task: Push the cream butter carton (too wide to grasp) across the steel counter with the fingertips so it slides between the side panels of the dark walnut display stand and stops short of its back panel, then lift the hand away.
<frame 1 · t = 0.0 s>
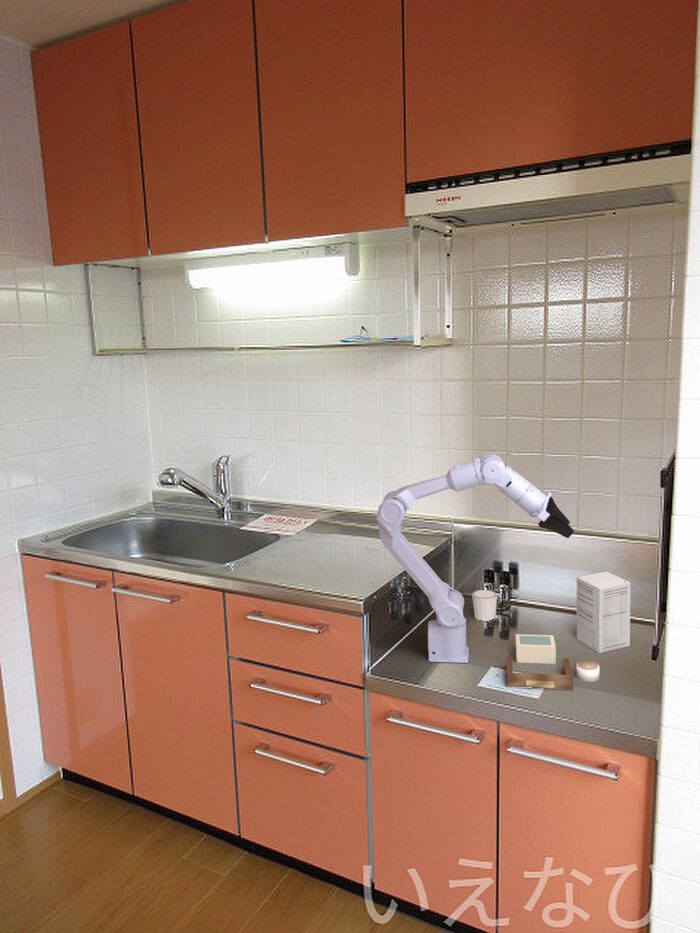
hand: (569, 530, 160), 32 cm above the worktop, tool tilted 50°, fingers open, 7 cm apart
carton: (535, 657, 168), on the worktop
salt pot: (587, 677, 157), on the worktop
display stand: (538, 678, 158), on the worktop
supplement box: (602, 643, 173), on the worktop
beige tapered cup: (485, 618, 193), on the worktop
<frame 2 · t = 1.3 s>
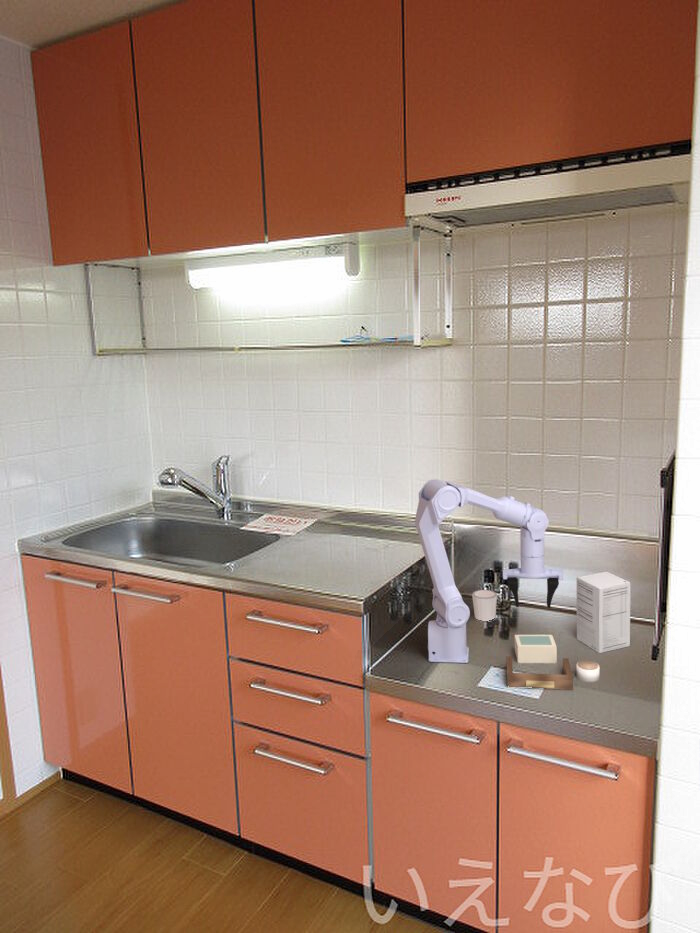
hand: (532, 605, 174), 10 cm above the worktop, tool pointing down, fingers open, 7 cm apart
nothing on the worktop moved.
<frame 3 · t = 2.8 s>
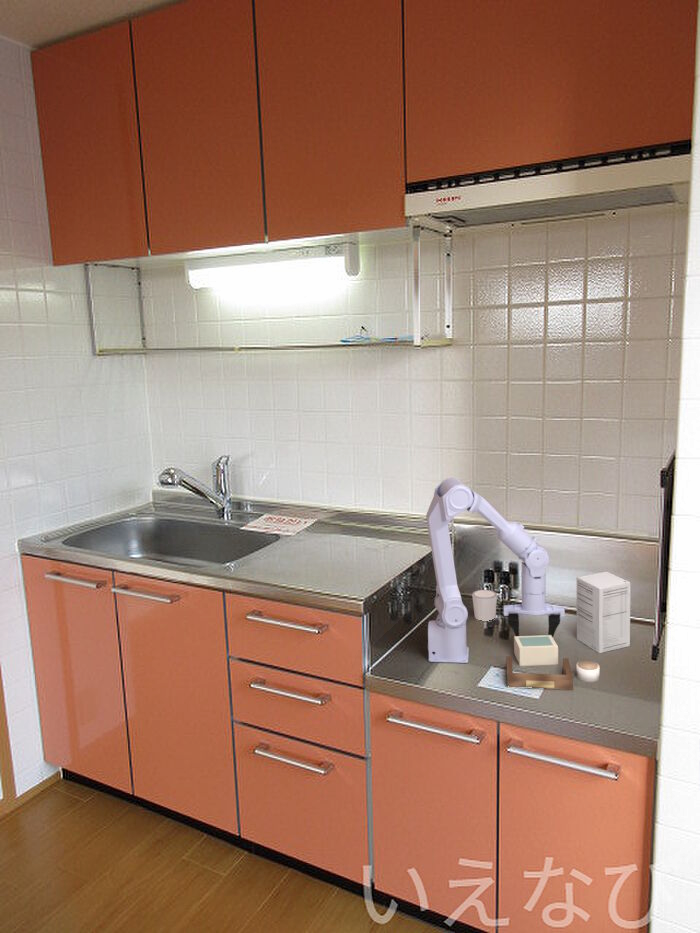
hand: (533, 642, 172), 2 cm above the worktop, tool pointing down, fingers open, 7 cm apart
carton: (535, 658, 167), on the worktop, touching gripper
everything else where it was.
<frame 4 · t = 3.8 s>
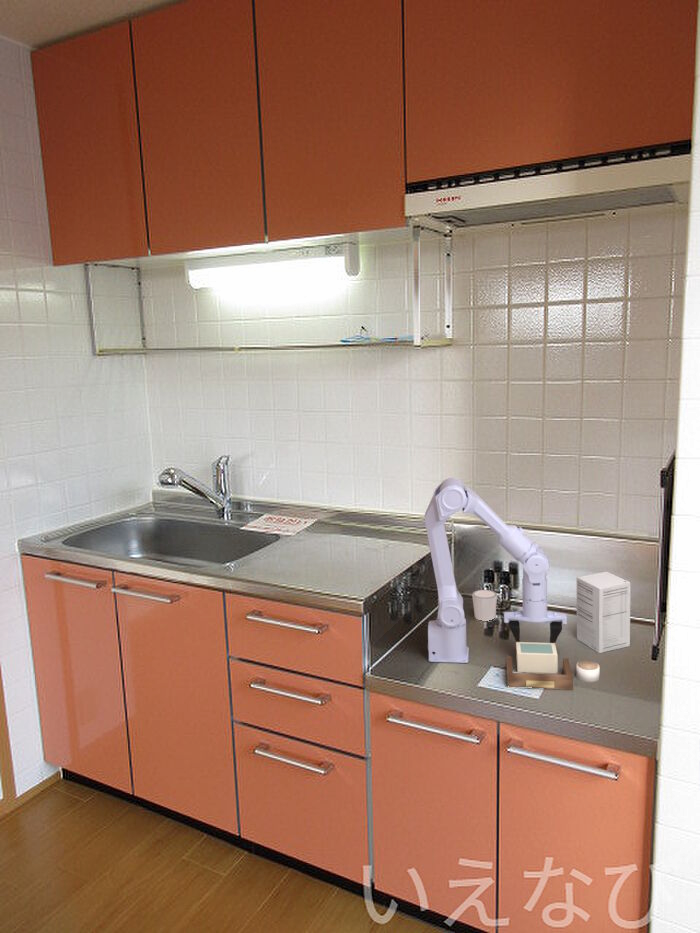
hand: (535, 649, 168), 2 cm above the worktop, tool pointing down, fingers open, 7 cm apart
carton: (536, 666, 164), on the worktop, touching gripper
everything else where it was.
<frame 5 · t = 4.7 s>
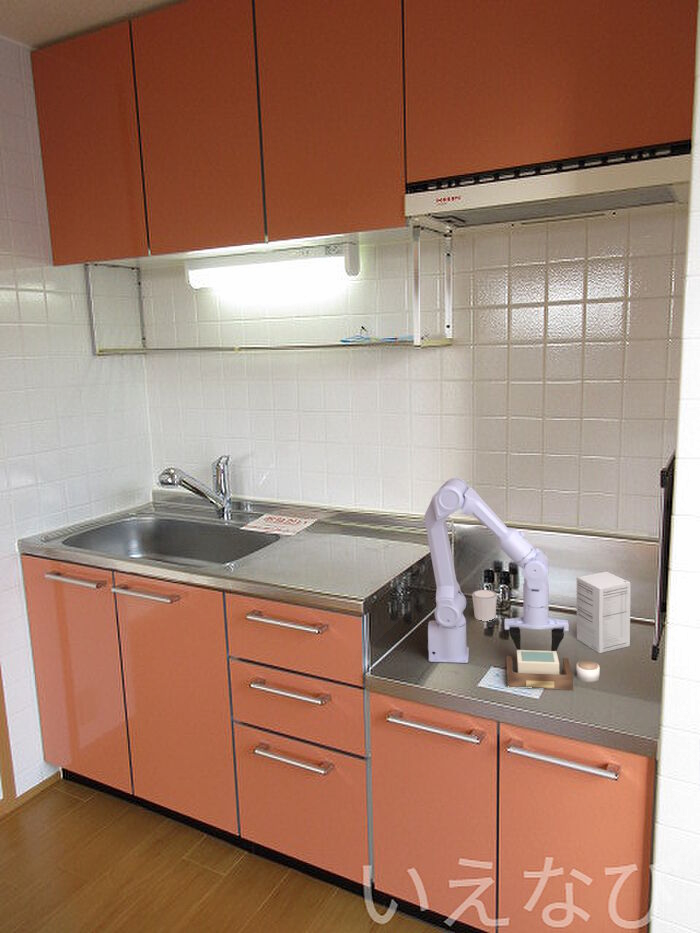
hand: (536, 657, 164), 2 cm above the worktop, tool pointing down, fingers open, 7 cm apart
carton: (537, 674, 160), on the worktop
everything else where it was.
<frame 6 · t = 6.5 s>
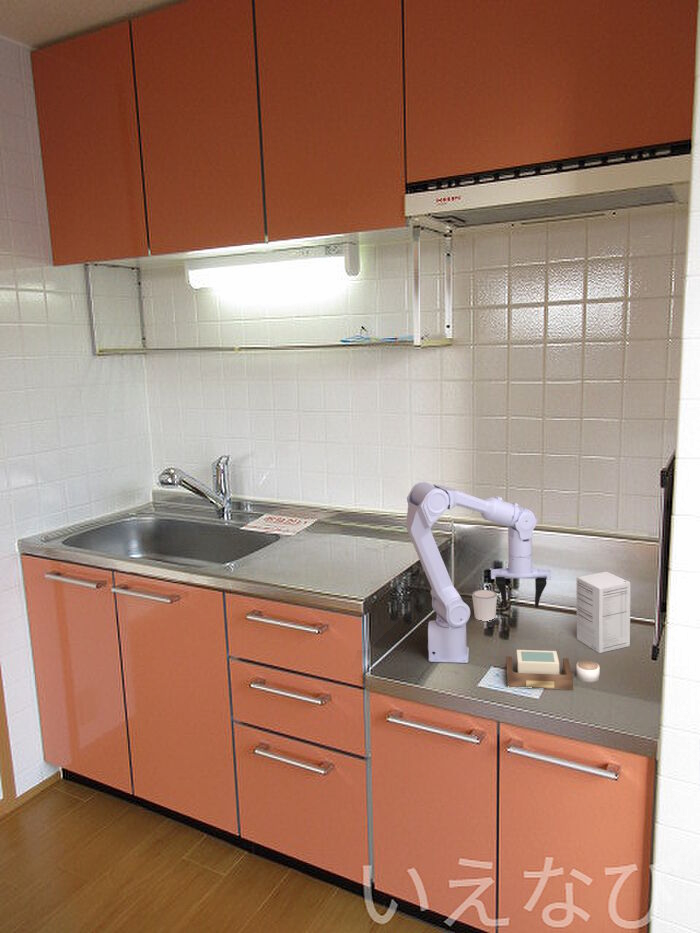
hand: (520, 605, 174), 10 cm above the worktop, tool pointing down, fingers open, 7 cm apart
nothing on the worktop moved.
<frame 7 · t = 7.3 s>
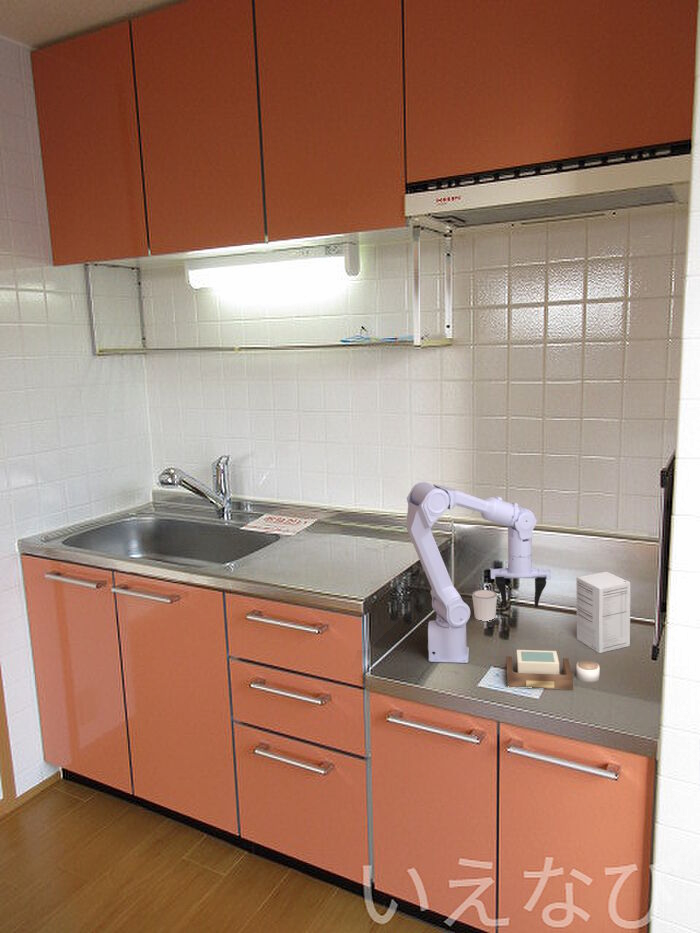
hand: (520, 605, 175), 10 cm above the worktop, tool pointing down, fingers open, 7 cm apart
nothing on the worktop moved.
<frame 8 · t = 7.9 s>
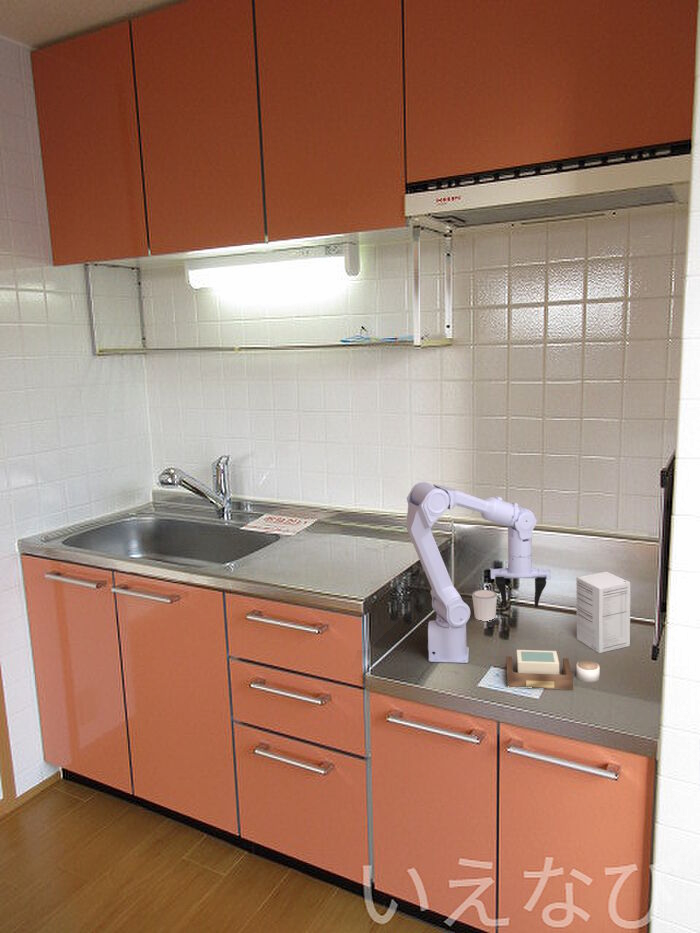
hand: (520, 605, 175), 10 cm above the worktop, tool pointing down, fingers open, 7 cm apart
nothing on the worktop moved.
at the end: carton 0.4 cm from the target spot on the display stand, point 0.0 cm above the display stand's base; carton tilted 0°; the gripper is holding nothing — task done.
